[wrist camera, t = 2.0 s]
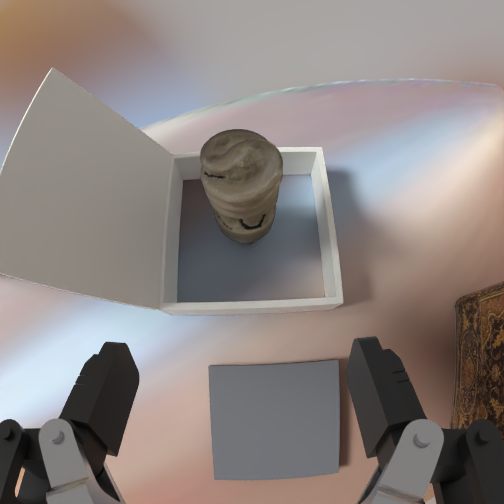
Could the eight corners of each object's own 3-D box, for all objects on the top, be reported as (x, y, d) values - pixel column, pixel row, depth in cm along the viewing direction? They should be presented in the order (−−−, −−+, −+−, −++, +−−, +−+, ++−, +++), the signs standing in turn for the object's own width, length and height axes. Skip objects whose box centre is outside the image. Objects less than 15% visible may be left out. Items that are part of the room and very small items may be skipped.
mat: (216, 473, 24) (214, 479, 22) (211, 365, 27) (208, 366, 26) (335, 467, 24) (338, 472, 22) (334, 359, 27) (338, 359, 26)
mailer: (110, 313, 29) (-28, 265, 11) (125, 182, 34) (47, 69, 16) (331, 309, 29) (433, 248, 11) (315, 170, 34) (350, 29, 15)
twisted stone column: (286, 239, 31) (305, 151, 17) (246, 273, 30) (233, 205, 16) (250, 202, 33) (243, 103, 18) (211, 234, 32) (175, 147, 17)
